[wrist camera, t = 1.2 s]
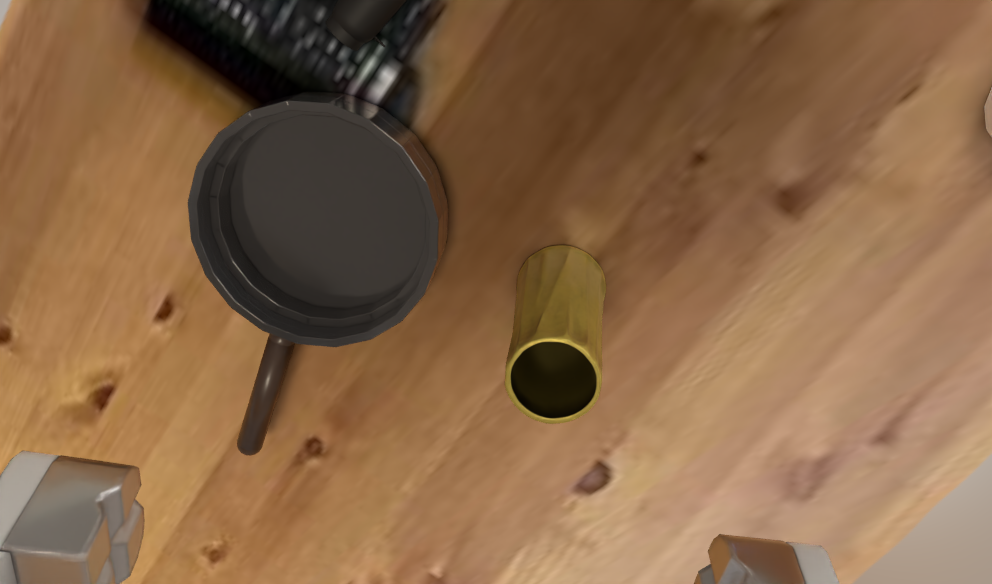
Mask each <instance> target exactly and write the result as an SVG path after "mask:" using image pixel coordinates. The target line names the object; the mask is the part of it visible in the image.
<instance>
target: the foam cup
mask: <svg viewBox="0 0 992 584" xmlns="http://www.w3.org/2000/svg"><path fill="white" fill-rule="evenodd" d="M984 111H985V122H986V130H987V131H988V133H989V134H990V136H991V137H992V88H991V91H990V93H989V96H988V98H987V101H986V103H985V106H984Z"/></svg>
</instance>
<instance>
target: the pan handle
mask: <svg viewBox="0 0 992 584" xmlns="http://www.w3.org/2000/svg"><path fill="white" fill-rule="evenodd" d="M294 344H295V343H294V342H291V341H288V340H286V339H283V338H281V337H278V336H275V335H273V334H269V337H268V340H267V344H266V347H265V350H264V354H263V357H262V360H261V364H260V367H259V370H258V374H257V377H256V380H255V384H254V387H253V390H252V394H251V397H250V400H249V404H248V407H247V410H246V414H245V417H244V420H243V423H242V427H241V430H240V433H239V437H238V440H237V447H238V449H239V451H240V452H241V453H243V454H244V455H254V454H256V453H258V452H259V451H260V450H261V448H262V445H263V442H264V439H265V436H266V433H267V430H268V426H269V423H270V420H271V417H272V414H273V411H274V407H275V404H276V401H277V398H278V395H279V392H280V388H281V385H282V382H283V379H284V376H285V373H286V369H287V366H288V363H289V360H290V357H291V354H292V350H293V347H294Z"/></svg>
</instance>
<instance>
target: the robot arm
mask: <svg viewBox="0 0 992 584" xmlns="http://www.w3.org/2000/svg"><path fill="white" fill-rule="evenodd" d="M140 487H141V478H140V471H139V468H138V467H135V466H131V465H124V464H117V463H110V462H103V461H96V460H89V459H82V458H75V457H68V456H62V455H61V456H58V455H51V454H44V453H36V452H29V451H21V452H20V453H19V454H17V455H16V456H15V457H13V458H12V459H11V460H10V462H9V463H8V465H7V466H6V468H5V469H4V471H3V472H2V474H1V475H0V584H120V583H121V582H123V581H124V580H125V579H127V578H128V577H130V575H131V573H132V570H133V568H134V565H135V563H136V561H137V558H138V554H139V551H140V547H141V543H142V539H143V532H144V508H143V507H142V506H141V505H140V504H139V503H138V502H137V501H136V500H135V498H136V496H137V494H138V491H139V489H140ZM708 553H709V558H710V562H711V564H710V565H708V566H706V567H705V568H703V569H701V570H700V571H699V572H698V574H697V577H696V579H695V582H694V584H839V581H838V579H837V576H836V574H835V571H834V569H833V566H832V564H831V561H830V559H829V556H828V554H827V552H826V551H825V549H824V548H823V547H822V546H820V545H811V544H803V543H794V542H784V541H779V540H770V539H760V538H751V537H741V536H732V535H722V534H719V535H718V536H717V537H716V538H714V539H713V541H712V543H711V546H710V548H709V550H708Z"/></svg>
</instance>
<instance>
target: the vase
mask: <svg viewBox="0 0 992 584" xmlns="http://www.w3.org/2000/svg"><path fill="white" fill-rule="evenodd" d="M516 288H517V296H516V304H515V315H514V325H513V333H512V338H511V344H510V348H509V352H508V357H507V361H506V372H505V388H506V391H507V393H508V396H509V398H510V399H511V401H512V402H513V403H514V405H515V406H516V407H517V408H518V409H519V410H520V411H521V412H522V413H523V414H525V415H526V416H528V417H530V418H532V419H534V420H537V421H539V422H543V423H549V424H556V423H565V422H569V421H572V420H574V419H577V418H579V417H580V416H582V415H584V414H585V413H587V412H588V411H589V410H590V409H591V408H592V407H593V405H594V404H595V403H596V401H597V399H598V397H599V394H600V390H601V384H602V315H603V301H604V298H605V294H606V282H605V277H604V274H603V271H602V269H601V267H600V266H599V265H598V263H597V262H596V261H595V260H594V259H593V258H592V257H591V256H590V255H589V254H587V253H586V252H584V251H582V250H580V249H578V248H575V247H572V246H565V245H557V246H550V247H547V248H544V249H542V250H540V251H538V252H536V253H535V254H533V255H532V256H531V257H529V258H528V259H527V260H526V262H525V263H524V265H523V266H522V268H521V270H520V271H519V274H518V278H517V287H516Z"/></svg>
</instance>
